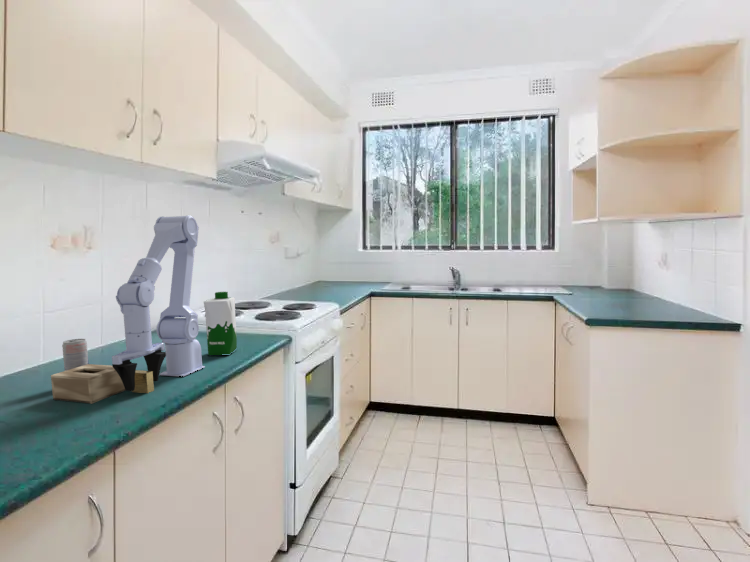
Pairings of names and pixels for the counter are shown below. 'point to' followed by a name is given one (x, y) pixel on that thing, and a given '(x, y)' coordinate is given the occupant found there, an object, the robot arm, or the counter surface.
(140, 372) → the block
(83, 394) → the box
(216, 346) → the milk carton
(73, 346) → the energy drink
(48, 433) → the counter surface
